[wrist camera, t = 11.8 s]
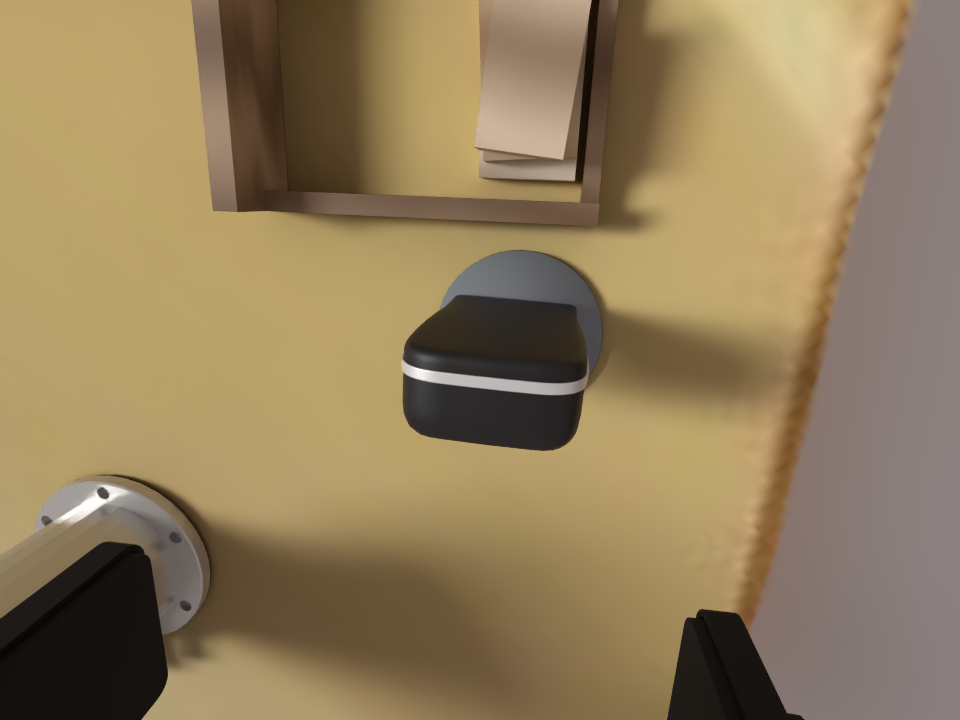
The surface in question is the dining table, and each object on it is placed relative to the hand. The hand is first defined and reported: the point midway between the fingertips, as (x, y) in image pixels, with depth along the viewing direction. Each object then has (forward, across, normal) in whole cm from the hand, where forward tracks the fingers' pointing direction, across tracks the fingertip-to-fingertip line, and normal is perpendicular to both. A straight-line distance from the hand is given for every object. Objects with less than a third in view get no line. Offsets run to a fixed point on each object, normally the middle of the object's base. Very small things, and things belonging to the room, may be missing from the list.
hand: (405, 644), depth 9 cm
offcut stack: (+21, -1, -13) cm, 25 cm away
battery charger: (+21, -1, -1) cm, 21 cm away
